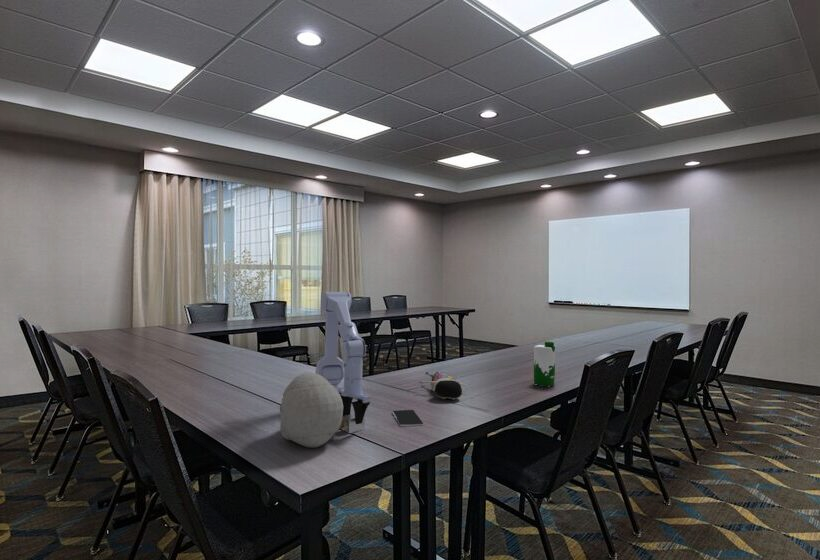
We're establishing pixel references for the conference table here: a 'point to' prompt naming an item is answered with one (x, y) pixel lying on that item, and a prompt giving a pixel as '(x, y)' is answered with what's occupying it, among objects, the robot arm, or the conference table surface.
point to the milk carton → (544, 364)
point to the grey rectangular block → (352, 424)
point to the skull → (310, 410)
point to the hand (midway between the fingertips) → (352, 420)
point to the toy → (445, 386)
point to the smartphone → (407, 418)
